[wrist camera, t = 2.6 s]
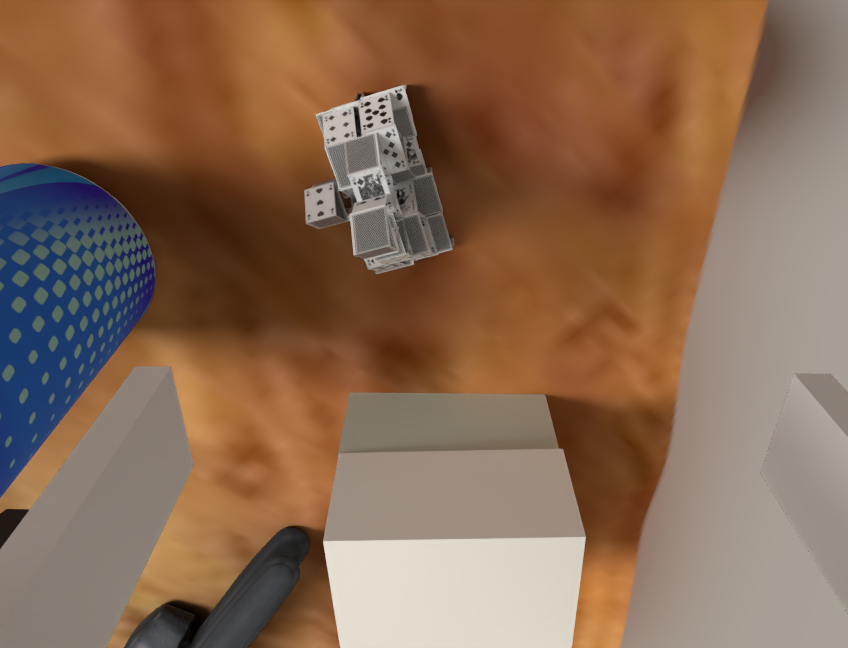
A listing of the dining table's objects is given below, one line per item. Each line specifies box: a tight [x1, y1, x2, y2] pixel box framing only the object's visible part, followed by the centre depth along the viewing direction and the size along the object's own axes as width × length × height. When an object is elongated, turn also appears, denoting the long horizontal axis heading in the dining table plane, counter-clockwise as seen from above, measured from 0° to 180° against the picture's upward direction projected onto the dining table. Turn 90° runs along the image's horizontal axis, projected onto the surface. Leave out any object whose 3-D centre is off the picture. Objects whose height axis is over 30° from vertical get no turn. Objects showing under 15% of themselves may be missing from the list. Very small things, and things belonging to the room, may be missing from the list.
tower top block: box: [323, 449, 586, 648], centre depth 29 cm, size 10×10×5 cm
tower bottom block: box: [338, 392, 559, 457], centre depth 34 cm, size 10×10×5 cm
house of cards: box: [304, 85, 454, 274], centre depth 24 cm, size 9×9×8 cm
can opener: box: [124, 527, 310, 648], centre depth 39 cm, size 18×7×6 cm, turn 140°
